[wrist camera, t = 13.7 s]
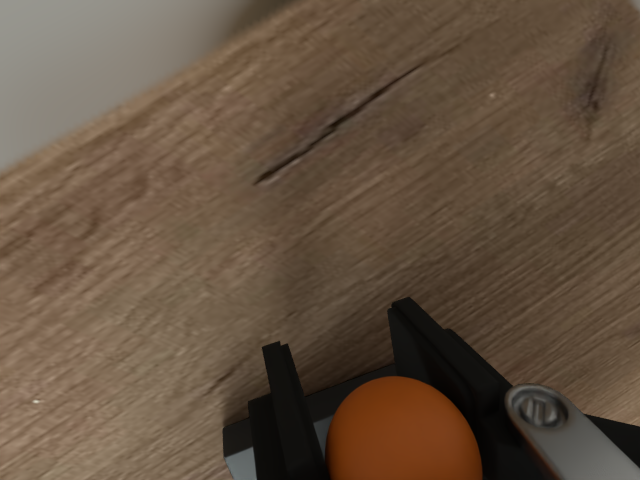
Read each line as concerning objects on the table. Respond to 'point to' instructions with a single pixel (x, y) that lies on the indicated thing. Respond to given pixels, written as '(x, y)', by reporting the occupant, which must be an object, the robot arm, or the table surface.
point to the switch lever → (400, 435)
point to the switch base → (321, 412)
